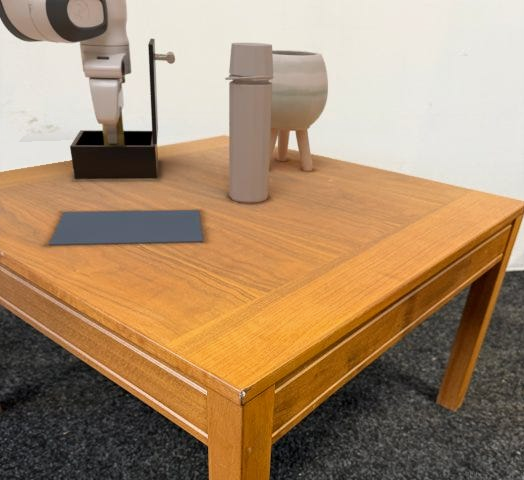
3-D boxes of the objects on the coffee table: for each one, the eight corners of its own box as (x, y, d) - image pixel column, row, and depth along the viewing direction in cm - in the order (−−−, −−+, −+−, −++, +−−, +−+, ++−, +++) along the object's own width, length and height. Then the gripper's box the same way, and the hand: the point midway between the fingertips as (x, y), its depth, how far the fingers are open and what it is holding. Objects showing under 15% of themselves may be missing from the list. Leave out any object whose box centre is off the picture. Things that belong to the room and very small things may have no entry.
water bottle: (277, 201, 100) (285, 45, 87) (243, 208, 96) (245, 46, 83) (247, 188, 106) (250, 41, 93) (213, 195, 102) (211, 41, 89)
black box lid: (148, 44, 95) (175, 45, 96) (150, 38, 107) (174, 40, 108) (152, 144, 104) (177, 144, 105) (154, 128, 116) (176, 129, 117)
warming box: (75, 183, 106) (69, 146, 102) (84, 163, 118) (80, 130, 114) (157, 182, 108) (155, 146, 104) (158, 163, 120) (156, 130, 116)
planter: (277, 155, 130) (282, 47, 118) (334, 168, 122) (346, 54, 109) (232, 167, 119) (232, 50, 107) (291, 183, 111) (299, 58, 99)
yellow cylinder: (105, 162, 110) (99, 108, 104) (106, 157, 113) (101, 104, 108) (125, 162, 110) (120, 108, 105) (126, 157, 113) (122, 105, 108)
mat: (49, 247, 79) (48, 244, 78) (64, 215, 90) (64, 211, 90) (203, 244, 82) (203, 240, 81) (198, 213, 93) (198, 209, 93)
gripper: (94, 56, 110) (102, 129, 118) (82, 67, 93) (92, 151, 101) (127, 57, 111) (132, 129, 119) (120, 68, 94) (127, 152, 102)
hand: (114, 140), depth 109 cm, fingers closed on yellow cylinder, 4 cm apart
